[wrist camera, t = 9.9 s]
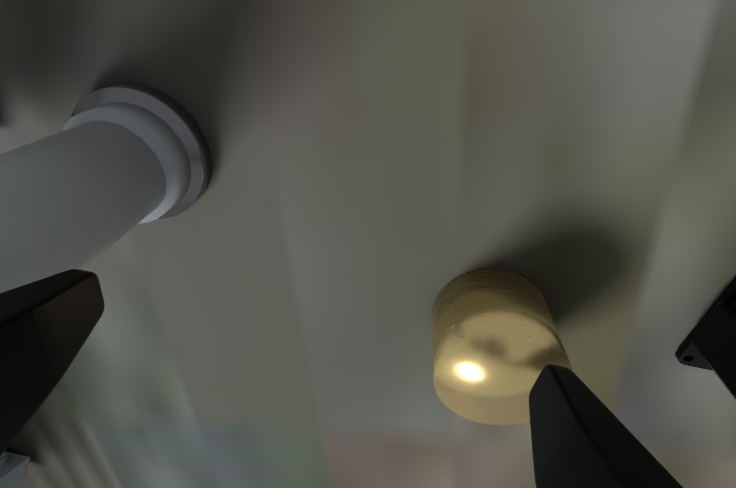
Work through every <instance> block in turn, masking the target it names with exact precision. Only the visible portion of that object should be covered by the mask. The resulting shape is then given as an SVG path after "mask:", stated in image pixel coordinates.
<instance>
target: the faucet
mask: <svg viewBox="0 0 736 488" xmlns="http://www.w3.org/2000/svg"><path fill="white" fill-rule="evenodd" d="M29 461H30V457H28V456H23V455H19V454H14V453H9V452H5V451H4V453H3V454H2V455H1V456H0V488H21V486H22V483H23V480H24V476H25V473H26V470H27V467H28V464H29Z"/></svg>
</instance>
